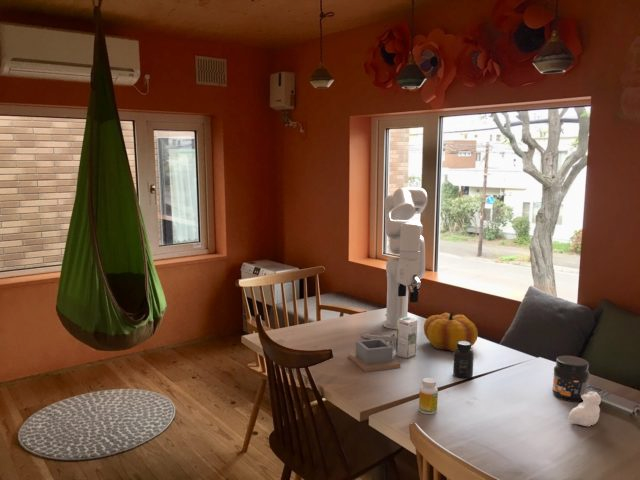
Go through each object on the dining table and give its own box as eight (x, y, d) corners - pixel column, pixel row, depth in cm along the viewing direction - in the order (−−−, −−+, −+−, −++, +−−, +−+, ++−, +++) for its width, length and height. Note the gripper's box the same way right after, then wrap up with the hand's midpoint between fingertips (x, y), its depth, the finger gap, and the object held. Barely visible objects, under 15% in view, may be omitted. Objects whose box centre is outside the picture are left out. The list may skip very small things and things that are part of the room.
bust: (572, 436, 158) (597, 416, 151) (555, 412, 162) (579, 392, 155) (597, 426, 164) (622, 406, 157) (579, 403, 169) (604, 383, 161)
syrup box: (404, 351, 219) (405, 316, 217) (416, 355, 215) (417, 319, 213) (395, 355, 215) (396, 319, 213) (407, 359, 211) (408, 322, 209)
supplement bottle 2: (476, 375, 196) (478, 342, 194) (466, 380, 191) (468, 347, 189) (458, 370, 200) (460, 338, 199) (449, 375, 195) (450, 342, 194)
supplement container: (544, 391, 183) (547, 357, 181) (568, 387, 187) (571, 353, 185) (570, 405, 173) (573, 368, 171) (594, 399, 177) (598, 364, 175)
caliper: (396, 349, 222) (397, 334, 221) (394, 350, 221) (395, 335, 220) (362, 336, 238) (362, 322, 237) (360, 336, 237) (361, 322, 236)
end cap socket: (348, 356, 213) (348, 339, 212) (381, 353, 217) (382, 335, 216) (365, 371, 198) (365, 353, 197) (400, 367, 202) (400, 349, 201)
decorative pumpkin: (487, 349, 224) (489, 313, 221) (449, 359, 211) (451, 321, 209) (449, 335, 240) (451, 302, 238) (412, 344, 228) (413, 309, 226)
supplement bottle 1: (433, 416, 164) (434, 385, 163) (416, 411, 167) (417, 381, 165) (439, 409, 169) (440, 379, 167) (422, 405, 171) (424, 375, 170)
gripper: (390, 251, 216) (389, 294, 219) (411, 259, 200) (409, 305, 202) (407, 251, 219) (406, 293, 221) (429, 258, 202) (427, 304, 205)
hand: (407, 299), depth 212 cm, fingers open, 9 cm apart
